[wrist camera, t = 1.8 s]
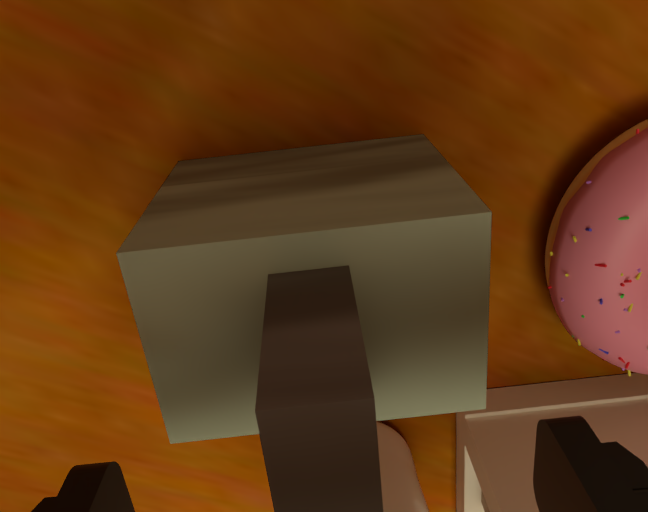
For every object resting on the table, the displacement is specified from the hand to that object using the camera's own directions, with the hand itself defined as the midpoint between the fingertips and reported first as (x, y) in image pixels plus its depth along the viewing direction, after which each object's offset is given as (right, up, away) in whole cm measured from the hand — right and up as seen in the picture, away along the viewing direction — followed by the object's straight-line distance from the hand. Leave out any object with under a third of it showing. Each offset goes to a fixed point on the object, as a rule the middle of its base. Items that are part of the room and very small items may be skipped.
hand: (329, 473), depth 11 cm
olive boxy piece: (-1, +5, +11) cm, 12 cm away
